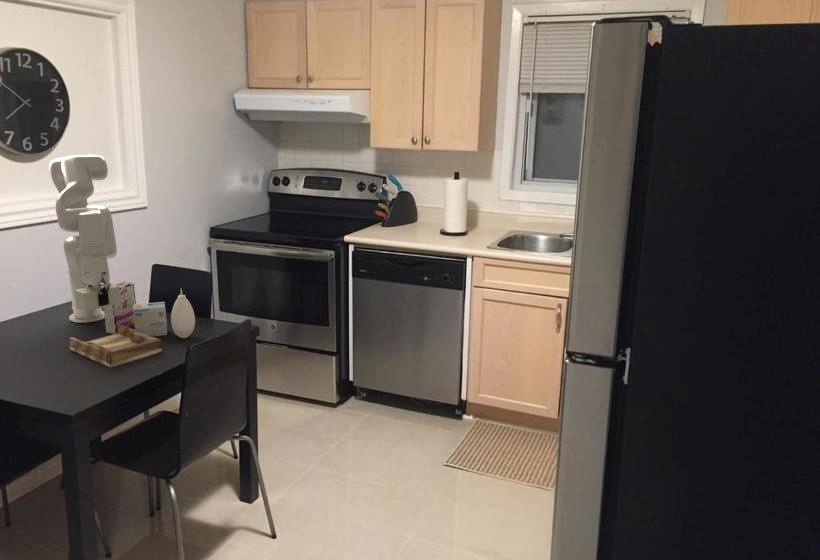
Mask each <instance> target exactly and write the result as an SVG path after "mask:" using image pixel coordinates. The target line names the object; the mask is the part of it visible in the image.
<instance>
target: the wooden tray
mask: <svg viewBox="0 0 820 560" xmlns="http://www.w3.org/2000/svg"><path fill="white" fill-rule="evenodd" d="M117 327H118V333H117V334H110V335H106V336H102V337H98V338H96V339H91V340H89V341H83V340H81V339H78V338H75V337H74V336H71V337H69V338H68V341H69V342H68V343H69V350H70V351H72V352H74V353H77V354H79V355H82V356H84V357H86V358H88V359H90V360H92V361H95V362H97V363H99V364H102V365H104V366H106V367H108V368H113V367H117V366H119V365H123V364H126V363H130V362H133V361H136V360H139V359H143V358H145V357H150V356H151V355H155V354H158V352H159V353H161V351H162V352H163V349H162V339H160V338H157V337H156V336H150V335H147V334H145V333H142V332H139V331H136V330H135V328H128V327H126V326H123V325H117Z"/></svg>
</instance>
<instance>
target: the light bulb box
mask: <svg viewBox="0 0 820 560" xmlns="http://www.w3.org/2000/svg"><path fill="white" fill-rule="evenodd" d="M133 315H134V326H135V327H134V330H136V331H139V332H142V333H145V334H147V335H150V336H153V337H158V336H159V337H160V336H167V335H168V321H167V310H166V302H165V301H158V302H149V303H148V302H147V303H146V302H145V303H136V304H134V306H133Z"/></svg>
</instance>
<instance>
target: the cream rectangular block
mask: <svg viewBox="0 0 820 560" xmlns="http://www.w3.org/2000/svg"><path fill="white" fill-rule="evenodd" d="M110 284H111V286H110V288H109V293H108V297H109V304H108V305H104V306H99V301H98V294H99V291H98V288H97V286H96V287H95V286H92V287H87V288H82V289H77V290H74V292H75V301H76V308H78V309H81V310H83V311H90V310H94V309H99V308H101V309H102V308H103V309H104V307H108V306H112V305H117V304H121V299H120V288H119V286H117V285H116V284H114V283H112V282H110ZM103 287H104V286H101V290H102V288H103Z"/></svg>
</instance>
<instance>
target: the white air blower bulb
mask: <svg viewBox="0 0 820 560" xmlns="http://www.w3.org/2000/svg"><path fill="white" fill-rule="evenodd" d="M170 322H171V328H172V331H173V333H174V334H175V335H176V336H178V337H179V338H181V339H186V338H188V337H190V335H191V334H193V331H194V329H195V325H196V318H195V311H194V309H193V306H192V304H191V303H190V301H189V300H188V298H186V295H185V294H183V290H182V288H180V294H179V295H177V299H176V300H175V302H174V304H173V306H172V310H171V314H170Z"/></svg>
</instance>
